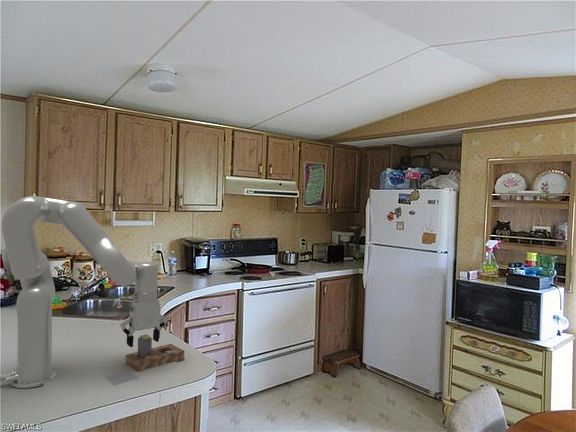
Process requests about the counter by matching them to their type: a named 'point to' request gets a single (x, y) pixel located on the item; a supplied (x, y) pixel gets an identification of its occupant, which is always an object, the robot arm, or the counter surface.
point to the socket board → (155, 357)
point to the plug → (144, 346)
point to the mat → (121, 377)
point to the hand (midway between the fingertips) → (143, 343)
